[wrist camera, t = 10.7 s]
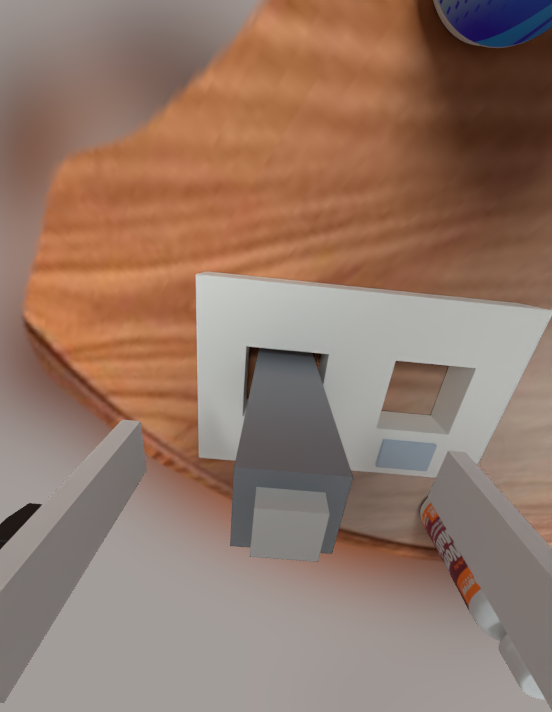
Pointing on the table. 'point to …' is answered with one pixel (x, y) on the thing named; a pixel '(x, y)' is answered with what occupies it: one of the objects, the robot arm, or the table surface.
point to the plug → (288, 463)
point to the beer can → (495, 20)
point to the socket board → (364, 363)
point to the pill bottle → (476, 598)
